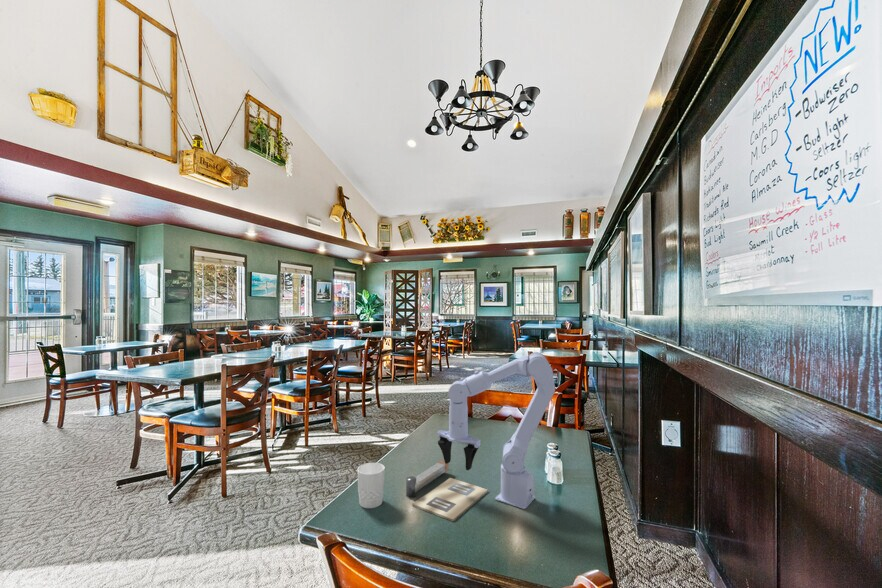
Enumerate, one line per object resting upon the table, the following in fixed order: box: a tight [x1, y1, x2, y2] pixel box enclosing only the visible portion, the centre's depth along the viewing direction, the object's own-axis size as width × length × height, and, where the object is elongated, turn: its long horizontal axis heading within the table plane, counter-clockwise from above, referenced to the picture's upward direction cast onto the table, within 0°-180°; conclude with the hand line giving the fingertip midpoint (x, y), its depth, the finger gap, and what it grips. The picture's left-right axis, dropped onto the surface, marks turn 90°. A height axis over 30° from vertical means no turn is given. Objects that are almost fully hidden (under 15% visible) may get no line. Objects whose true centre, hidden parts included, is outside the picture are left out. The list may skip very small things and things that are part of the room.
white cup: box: [357, 462, 386, 509], centre depth 115 cm, size 8×8×10 cm
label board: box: [411, 477, 489, 522], centre depth 117 cm, size 14×20×1 cm
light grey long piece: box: [405, 459, 450, 498], centre depth 126 cm, size 20×3×5 cm, turn 147°
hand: (457, 465), depth 120 cm, fingers open, 7 cm apart
